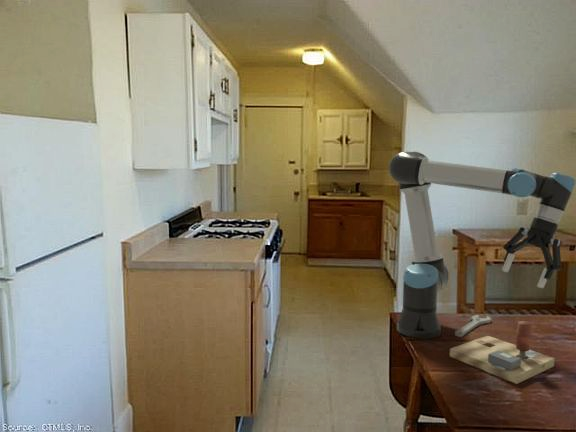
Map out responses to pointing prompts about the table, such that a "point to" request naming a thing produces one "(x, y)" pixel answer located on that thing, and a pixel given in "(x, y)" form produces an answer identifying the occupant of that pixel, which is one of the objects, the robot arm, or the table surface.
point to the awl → (523, 338)
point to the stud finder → (504, 360)
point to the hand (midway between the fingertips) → (521, 279)
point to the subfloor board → (482, 347)
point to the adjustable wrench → (472, 325)
